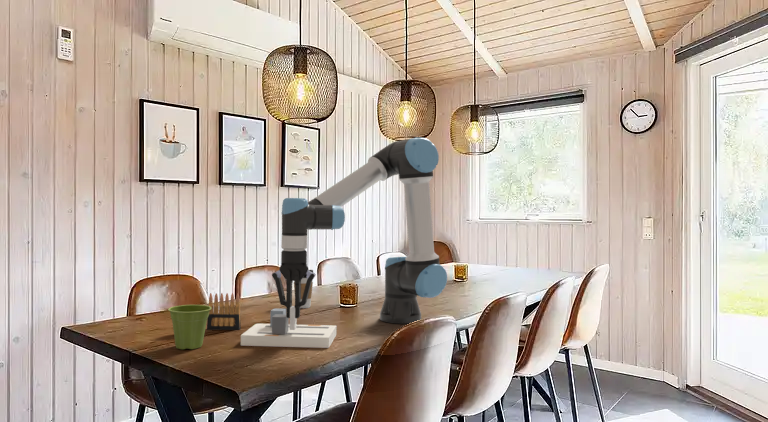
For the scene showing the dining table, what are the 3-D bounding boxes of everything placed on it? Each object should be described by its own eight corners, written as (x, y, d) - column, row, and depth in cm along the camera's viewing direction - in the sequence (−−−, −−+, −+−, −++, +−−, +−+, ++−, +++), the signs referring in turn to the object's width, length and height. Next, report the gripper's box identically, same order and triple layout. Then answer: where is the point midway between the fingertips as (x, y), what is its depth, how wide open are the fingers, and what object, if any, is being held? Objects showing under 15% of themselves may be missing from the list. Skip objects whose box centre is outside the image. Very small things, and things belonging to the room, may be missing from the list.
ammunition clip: (240, 328, 182) (241, 292, 181) (239, 329, 180) (240, 293, 180) (208, 328, 181) (208, 292, 181) (206, 329, 179) (207, 293, 179)
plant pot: (198, 353, 151) (199, 312, 151) (159, 351, 153) (159, 310, 152) (218, 342, 162) (218, 305, 162) (181, 340, 164) (181, 303, 164)
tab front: (288, 331, 165) (288, 314, 165) (285, 334, 161) (285, 317, 161) (275, 330, 165) (275, 314, 165) (271, 333, 161) (272, 316, 161)
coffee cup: (309, 309, 216) (309, 271, 216) (289, 308, 218) (289, 270, 218) (316, 305, 225) (316, 269, 225) (296, 304, 226) (297, 268, 226)
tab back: (285, 324, 174) (286, 308, 174) (282, 327, 170) (283, 311, 170) (273, 324, 174) (273, 308, 174) (270, 326, 170) (270, 310, 170)
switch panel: (336, 334, 174) (336, 325, 174) (328, 347, 158) (328, 337, 158) (256, 332, 176) (256, 323, 176) (240, 345, 160) (240, 334, 160)
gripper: (318, 249, 166) (316, 326, 166) (275, 248, 166) (274, 325, 166) (313, 251, 158) (312, 332, 158) (269, 250, 159) (268, 331, 159)
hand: (293, 328), depth 162 cm, fingers closed
